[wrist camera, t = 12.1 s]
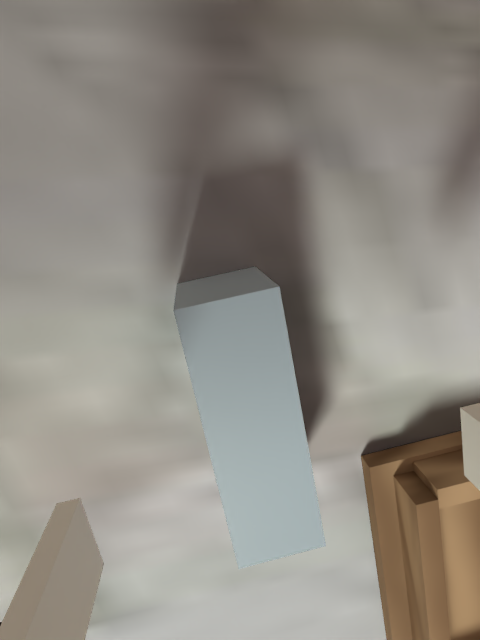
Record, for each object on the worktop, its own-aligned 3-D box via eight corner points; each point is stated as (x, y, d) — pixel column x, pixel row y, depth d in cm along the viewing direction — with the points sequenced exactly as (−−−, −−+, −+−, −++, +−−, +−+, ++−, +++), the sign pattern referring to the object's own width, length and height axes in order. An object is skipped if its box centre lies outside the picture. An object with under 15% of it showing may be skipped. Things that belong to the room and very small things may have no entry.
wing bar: (226, 484, 24) (238, 569, 19) (177, 283, 21) (173, 310, 16) (293, 467, 25) (325, 545, 19) (254, 266, 22) (279, 286, 16)
